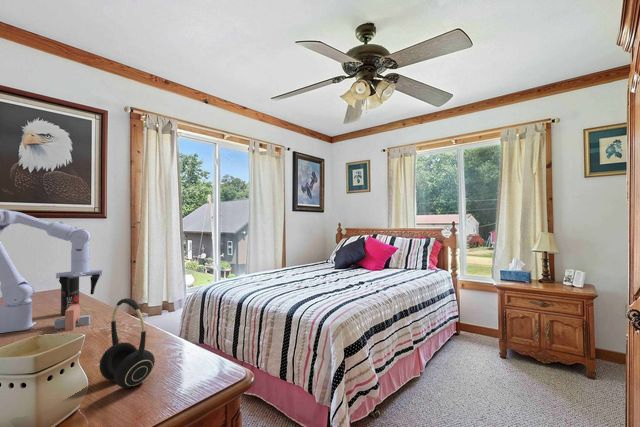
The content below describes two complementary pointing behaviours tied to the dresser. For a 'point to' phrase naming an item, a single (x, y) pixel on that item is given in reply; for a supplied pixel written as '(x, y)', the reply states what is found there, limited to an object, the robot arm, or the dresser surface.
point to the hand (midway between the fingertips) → (80, 295)
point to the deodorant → (73, 297)
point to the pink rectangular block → (72, 316)
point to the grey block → (82, 321)
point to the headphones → (126, 356)
